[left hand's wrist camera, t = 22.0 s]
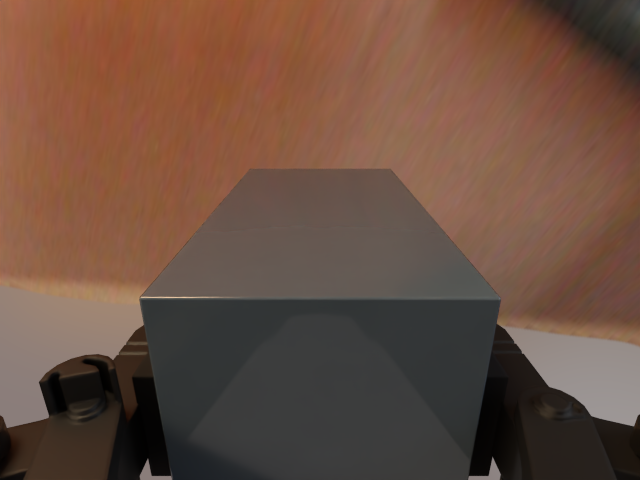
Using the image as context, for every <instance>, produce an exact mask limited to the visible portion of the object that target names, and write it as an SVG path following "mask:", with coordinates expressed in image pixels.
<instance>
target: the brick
mask: <svg viewBox="0 0 640 480" xmlns="http://www.w3.org/2000/svg"><path fill="white" fill-rule="evenodd" d="M139 300H140V306H141V311H142V317H143V322H144V328H145V333H146V339H147V344H148V350H149V355H150V361H151V366H152V372H153V377H154V383H155V388H156V394H157V399H158V405H159V410H160V416H161V421H162V427H163V432H164V438H165V443H166V449H167V454H168V460H169V465H170V471H171V476H172V480H468V477H469V472H470V466H471V461H472V455H473V450H474V444H475V439H476V433H477V428H478V422H479V417H480V411H481V406H482V400H483V395H484V389H485V384H486V378H487V373H488V367H489V362H490V356H491V351H492V345H493V340H494V334H495V329H496V323H497V318H498V312H499V307H500V301H501V298H500V296H499V295H498V294H497V293H496V292H495V291H494V289H493V288H492V287H491V286H490V285H489V284H488V282H487V281H486V280H485V279H484V278H483V277H482V275H481V274H480V273H479V272H478V271H477V269H476V268H475V267H474V266H473V265H472V264H471V262H470V261H469V260H468V259H467V258H466V257H465V255H464V254H463V253H462V252H461V251H460V250H459V248H458V247H457V246H456V245H455V244H454V242H453V241H452V240H451V239H450V238H449V237H448V235H447V234H446V233H445V232H444V231H443V230H442V228H441V227H440V226H439V225H438V224H437V223H436V221H435V220H434V219H433V218H432V217H431V216H430V214H429V213H428V212H427V211H426V210H425V208H424V207H423V206H422V205H421V204H420V203H419V201H418V200H417V199H416V198H415V197H414V196H413V194H412V193H411V192H410V191H409V190H408V189H407V187H406V186H405V185H404V184H403V183H402V181H401V180H400V179H399V178H398V177H397V176H396V174H395V173H394V172H393V171H392V170H391V169H249V170H248V172H247V173H246V174H245V175H244V176H243V177H242V179H241V180H240V181H239V182H238V183H237V184H236V186H235V187H234V188H233V189H232V190H231V191H230V193H229V194H228V195H227V196H226V197H225V198H224V200H223V201H222V202H221V203H220V204H219V205H218V207H217V208H216V209H215V210H214V211H213V212H212V214H211V215H210V216H209V217H208V218H207V219H206V221H205V222H204V223H203V224H202V225H201V226H200V228H199V229H198V230H197V231H196V232H195V233H194V235H193V236H192V237H191V238H190V239H189V240H188V242H187V243H186V244H185V245H184V246H183V247H182V249H181V250H180V251H179V252H178V253H177V254H176V256H175V257H174V258H173V259H172V260H171V261H170V263H169V264H168V265H167V266H166V267H165V268H164V270H163V271H162V272H161V273H160V274H159V275H158V277H157V278H156V279H155V280H154V281H153V282H152V284H151V285H150V286H149V287H148V288H147V289H146V291H145V292H144V293H143V294H142V295H141V296H140V299H139Z"/></svg>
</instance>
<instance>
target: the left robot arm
mask: <svg viewBox="0 0 640 480" xmlns="http://www.w3.org/2000/svg"><path fill="white" fill-rule="evenodd" d="M39 384H40V387H41V391H42V394H43V397H44V400H45V404H46V407H47V410H48V413H49V418H47V419H44V420H41V421H36V422H32V423H28V424H23V425H19V426H14V427H10V428H7V427H6V424H5V422H4V419H3V417H2V416H0V480H140V474H141V472H142V470H143V467H144V465H145V463H146V461H147V459H148V460H149V464H150V470H151V474H152V476H171V471H170V465H169V460H168V454H167V449H166V443H165V438H164V432H163V427H162V421H161V416H160V410H159V405H158V399H157V394H156V388H155V383H154V377H153V372H152V366H151V361H150V355H149V350H148V344H147V339H146V333H145V328H144V325H143V326H142V327H140V328H139V329H137V330H136V331H135V332H134V333H133V335H132V336H131V337H130V339H129V340H128V342H127V343H126V345H124V347H123V348H122V349H121V351H120V352H119V355H117V356H116V357H115V359H114V360H112V359H111V358H110V357H108V356H104V355H99V354H96V355H84V356H80V357H76V358H73V359H70V360H68V361H65V362H63V363H61V364H59V365H57V366H56V367H54V368H53V369H51V370H50V371H49V372H47V373H46V374H45V375H44V377H43V378H42V379H41V380H40V382H39ZM492 456H493V458H494V461H495V463H496V465H497V467H498V469H499V471H500V473H501V476H500V480H640V415H638V417H637V420H636V423H635V426H634V427H633V426H629V425H625V424H620V423H616V422H611V421H607V420H603V419H599V418H595V417H592V416H591V415H590V414H589V412H588V411H587V409H586V408H585V406H584V405H582V404H581V403H580V402H579V401H578V400H576V399H575V398H574V397H572V396H570V395H568V394H566V393H564V392H563V391H561V390H557V389H554V388H550V387H549V386H548V385H547V384H546V383H545V381H544V380H543V379H542V377H541V376H540V375H539V373H538V372H537V371H536V369H535V368H534V367H533V366H532V364H531V363H530V362H529V360H528V359H527V358H526V356H525V355H524V354H522V351H521V350H520V348H519V347H518V346H517V344H514V341H513V339H512V338H511V337H510V335H509V334H508V333H507V331H506V330H505V329H504V328H502V327H501V326H499V325H498V324H496V329H495V334H494V340H493V345H492V351H491V356H490V362H489V367H488V373H487V378H486V384H485V389H484V395H483V400H482V406H481V411H480V417H479V422H478V428H477V433H476V439H475V444H474V450H473V455H472V461H471V466H470V472H469V476H488V475H489V471H490V466H491V461H492Z"/></svg>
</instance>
